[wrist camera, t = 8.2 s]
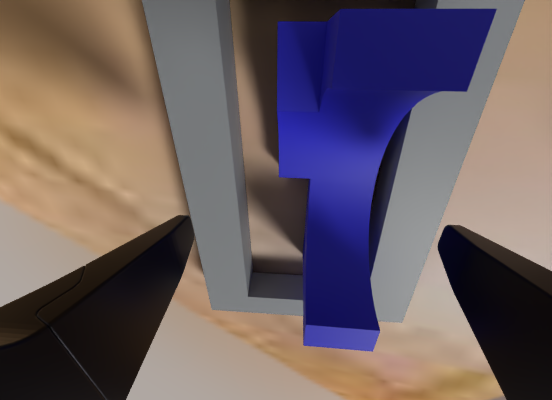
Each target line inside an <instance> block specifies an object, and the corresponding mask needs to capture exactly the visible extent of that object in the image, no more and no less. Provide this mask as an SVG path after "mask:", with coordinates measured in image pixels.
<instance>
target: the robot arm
mask: <svg viewBox="0 0 552 400" xmlns="http://www.w3.org/2000/svg"><path fill="white" fill-rule="evenodd" d="M193 241H194V230H193V226H192V221H191V218H190V217H189V216H187V215H178V216H176V217H174V218H172V219H170V220H168V221H166V222H165V223H163V224H161V225H159V226H157V227H155V228H153V229H152V230H150V231H148V232H146V233H144V234H142V235H140V236H138V237H137V238H135V239H133V240H131V241H129V242H127V243H125V244H124V245H122V246H120V247H118V248H116V249H114V250H112V251H110V252H109V253H107V254H105V255H103V256H101V257H99V258H97V259H95V260H94V261H92V262H90V263H88V264H86V266H83V267H80V268H79V269H77V270H75V271H73V272H71V273H69V274H67V275H65V276H64V277H61V278H60V279H58V280H56V281H54V282H52V283H50V284H48V285H46V286H44V287H42V288H39V289H37V290H35V291H33V292H31V293H29V294H27V295H25V296H23V297H21V298H19V299H16V300H14V301H12V302H10V303H8V304H6V305H4V306H2V307H0V400H126V398H127V396H128V394H129V392H130V389H131V387H132V385H133V383H134V381H135V378H136V376H137V374H138V371H139V370H140V367H141V365H142V363H143V361H144V358H145V356H146V354H147V352H148V350H149V348H150V345H151V343H152V341H153V339H154V336H155V334H156V332H157V330H158V328H159V326H160V323H161V321H162V319H163V316H164V315H165V312H166V310H167V308H168V306H169V304H170V301H171V299H172V297H173V295H174V293H175V290H176V288H177V286H178V284H179V282H180V279H181V277H182V274H183V272H184V269H185V266H186V263H187V259H188V256H189V253H190V250H191V247H192V244H193ZM438 251H439V254H440V257H441V260H442V262H443V265H444V268H445V271H446V274H447V276H448V279H449V282H450V285H451V287H452V289H453V292H454V294H455V296H456V298H457V300H458V302H459V304H460V306H461V308H462V310H463V312H464V314H465V316H466V318H467V320H468V322H469V325H470V327H471V329H472V331H473V333H474V335H475V337H476V339H477V341H478V343H479V345H480V347H481V349H482V351H483V353H484V355H485V357H486V359H487V361H488V363H489V365H490V367H491V369H492V371H493V373H494V375H495V377H496V379H497V381H498V383H499V385H500V387H501V389H502V391H503V393H504V396H505V398H506V400H552V271H550V270H548V269H546V268H544V267H542V266H540V265H538V264H536V263H534V262H532V261H530V260H528V259H526V258H524V257H522V256H520V255H518V254H516V253H514V252H513V251H511V250H509V249H507V248H505V247H503V246H501V245H499V244H497V243H495V242H493V241H491V240H489V239H487V238H485V237H483V236H481V235H479V234H477V233H475V232H473V231H471V230H469V229H467V228H465V227H463V226H460V225H447V226H445V228H444V230H443V232H442V235H441V237H440V240H439V242H438Z"/></svg>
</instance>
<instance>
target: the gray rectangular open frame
mask: <svg viewBox="0 0 552 400" xmlns="http://www.w3.org/2000/svg"><path fill="white" fill-rule="evenodd" d="M524 1H525V0H416V2H415V6H414V9H497V10H496V13H495V16H494V19H493V21H492V24H491V27H490V30H489V32H488V35H487V38H486V41H485V43H484V46H483V49H482V52H481V54H480V57H479V60H478V63H477V65H476V68H475V71H474V74H473V77H472V79H471V82H470V85H469V88H468V90H467V92H454V91H441V92H437V93H434V94H432V95H430V96H428V97H426V98H424V99H423V100H421V101H420V102H418V103H417V104H416V105H415V106H414V107H413V108H412V109H411V110H410V111H409V112H408V113H407V114H406V115H405V116H404V118H403V119H402V120H401V122H400V123H399V125H398V126H397V128H396V129H395V131H394V133H393V135H392V137H391V139H390V140H389V143H388V145H387V147H386V149H385V152H384V156H383V160H382V165H381V170H380V175H379V180H378V185H377V189H376V194H375V199H374V204H373V209H372V213H371V218H370V223H369V268H370V280H371V288H372V295H373V301H374V306H375V311H376V316H377V320H378V321H383V322H398V323H402V322H403V319H404V317H405V314H406V311H407V309H408V306H409V303H410V301H411V298H412V295H413V293H414V290H415V288H416V285H417V282H418V280H419V277H420V274H421V272H422V269H423V267H424V264H425V261H426V259H427V256H428V253H429V251H430V248H431V246H432V243H433V240H434V238H435V235H436V232H437V230H438V227H439V225H440V222H441V219H442V217H443V214H444V211H445V209H446V206H447V203H448V201H449V198H450V196H451V193H452V190H453V188H454V185H455V182H456V180H457V177H458V175H459V172H460V169H461V167H462V164H463V161H464V159H465V156H466V154H467V151H468V148H469V146H470V143H471V140H472V138H473V135H474V133H475V130H476V127H477V125H478V122H479V119H480V117H481V114H482V112H483V109H484V106H485V104H486V101H487V98H488V96H489V93H490V90H491V88H492V85H493V83H494V80H495V77H496V75H497V72H498V69H499V67H500V64H501V62H502V59H503V56H504V54H505V51H506V48H507V46H508V43H509V41H510V38H511V35H512V33H513V30H514V27H515V25H516V22H517V20H518V17H519V14H520V12H521V9H522V6H523V4H524ZM142 3H143V7H144V12H145V16H146V21H147V25H148V29H149V34H150V38H151V43H152V47H153V51H154V56H155V60H156V65H157V69H158V74H159V78H160V82H161V87H162V91H163V96H164V100H165V105H166V109H167V113H168V118H169V122H170V127H171V131H172V135H173V140H174V144H175V149H176V153H177V158H178V162H179V166H180V171H181V175H182V180H183V184H184V189H185V193H186V197H187V202H188V206H189V211H190V215H191V219H192V224H193V228H194V233H195V237H196V242H197V246H198V250H199V255H200V259H201V264H202V268H203V273H204V277H205V281H206V286H207V290H208V295H209V299H210V303H211V308H212V310H223V311H237V312H252V313H267V314H281V315H296V316H303V275H290V274H272V273H254V272H253V264H252V252H251V241H250V230H249V218H248V207H247V195H246V184H245V173H244V161H243V150H242V138H241V127H240V115H239V104H238V93H237V81H236V70H235V58H234V47H233V35H232V24H231V13H230V1H229V0H142Z"/></svg>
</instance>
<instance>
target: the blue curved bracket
mask: <svg viewBox="0 0 552 400" xmlns="http://www.w3.org/2000/svg"><path fill="white" fill-rule="evenodd" d="M496 10H497V9H340V10H339V11H338V12H337V13H336V14H335V15H333V16H332V17H331V18H330V19H329V20H328V21H327V22H295V21H278V51H277V117H278V134H279V177H284V178H308V179H309V182H308V195H307V207H306V220H305V232H304V244H303V345H304V346H316V347H327V348H339V349H350V350H361V351H373V349H374V347H375V344H376V341H377V338H378V336H379V333H380V328H379V324H378V320H377V316H376V311H375V306H374V301H373V295H372V288H371V280H370V268H369V222H370V211H371V203H372V197H373V191H374V186H375V182H376V177H377V173H378V170H379V166H380V163H381V160H382V157H383V155H384V152H385V149H386V147H387V145H388V143H389V140H390V139H391V137H392V135H393V133H394V131H395V129H396V128H397V126H398V125H399V123H400V122H401V120H402V119H403V118H404V116H405V115H406V114H407V113H408V112H409V111H410V110H411V109H412V108H413V107H414V106H415V105H416V104H417V103H418V102H420V101H421V100H423V99H424V98H426V97H428V96H430V95H432V94H434V93H437V92H441V91H454V92H467V90H468V88H469V85H470V82H471V79H472V77H473V74H474V71H475V68H476V65H477V63H478V60H479V57H480V54H481V52H482V49H483V46H484V43H485V41H486V38H487V35H488V32H489V30H490V27H491V24H492V21H493V19H494V16H495V13H496Z"/></svg>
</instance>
